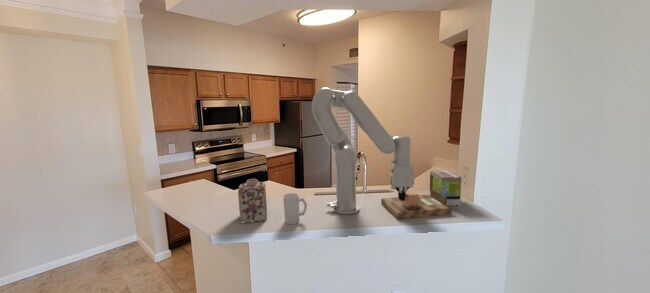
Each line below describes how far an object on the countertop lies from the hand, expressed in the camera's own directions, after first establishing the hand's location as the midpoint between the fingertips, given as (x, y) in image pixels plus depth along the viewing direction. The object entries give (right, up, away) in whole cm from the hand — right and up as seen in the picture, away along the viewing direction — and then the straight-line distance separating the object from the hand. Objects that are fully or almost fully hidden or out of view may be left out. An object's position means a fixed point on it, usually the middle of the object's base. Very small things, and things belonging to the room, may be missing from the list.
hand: (401, 199), depth 124 cm
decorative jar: (-70, -8, -2) cm, 70 cm away
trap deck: (+6, -5, +2) cm, 8 cm away
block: (+5, -2, +1) cm, 5 cm away
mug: (-50, -8, -8) cm, 51 cm away
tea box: (+25, -3, +11) cm, 28 cm away
